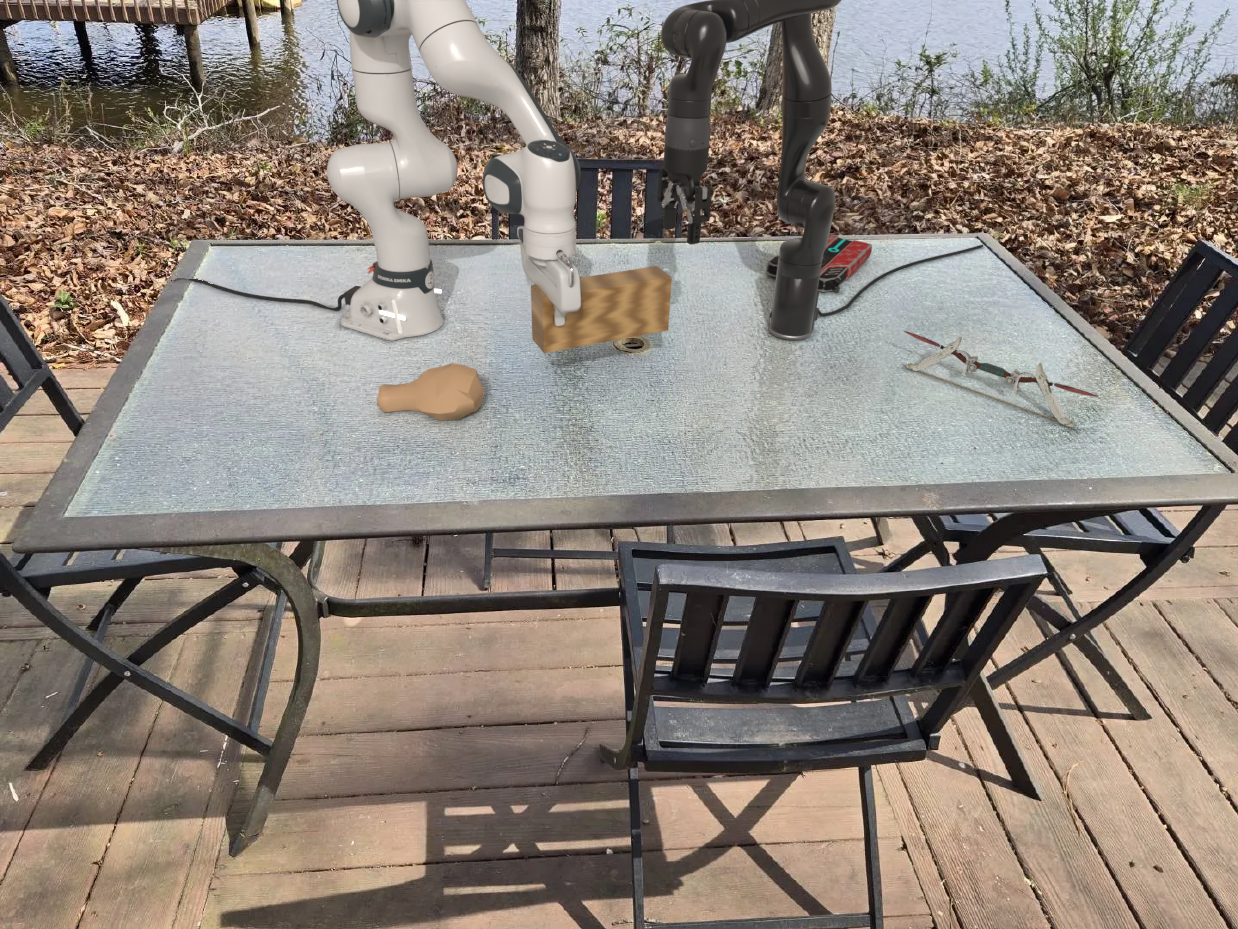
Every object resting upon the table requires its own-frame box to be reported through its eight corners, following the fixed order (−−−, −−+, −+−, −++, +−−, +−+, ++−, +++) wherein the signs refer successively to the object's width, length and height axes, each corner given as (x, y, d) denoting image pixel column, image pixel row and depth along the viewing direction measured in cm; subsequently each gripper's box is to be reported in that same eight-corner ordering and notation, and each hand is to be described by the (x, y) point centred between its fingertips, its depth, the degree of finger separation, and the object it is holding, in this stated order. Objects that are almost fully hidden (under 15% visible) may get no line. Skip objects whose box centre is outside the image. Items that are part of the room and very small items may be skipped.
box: (543, 353, 158) (542, 297, 152) (532, 339, 163) (530, 284, 157) (668, 330, 167) (671, 277, 161) (654, 317, 172) (656, 265, 166)
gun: (763, 262, 220) (837, 280, 212) (808, 226, 242) (876, 242, 234) (761, 279, 222) (834, 298, 214) (805, 242, 244) (873, 258, 236)
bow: (1087, 429, 164) (1105, 382, 158) (1083, 433, 163) (1101, 385, 157) (899, 362, 185) (909, 318, 180) (895, 365, 184) (904, 321, 179)
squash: (485, 427, 160) (474, 388, 154) (378, 435, 161) (363, 397, 155) (491, 389, 168) (481, 351, 162) (390, 398, 169) (376, 360, 163)
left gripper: (590, 260, 144) (589, 337, 152) (546, 220, 159) (547, 292, 167) (554, 265, 142) (555, 342, 149) (513, 224, 157) (516, 296, 165)
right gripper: (728, 150, 144) (719, 245, 153) (684, 130, 154) (679, 221, 164) (689, 154, 141) (682, 251, 150) (647, 134, 152) (643, 226, 161)
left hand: (551, 315), depth 158 cm, fingers closed on box, 6 cm apart
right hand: (680, 235), depth 157 cm, fingers open, 8 cm apart
